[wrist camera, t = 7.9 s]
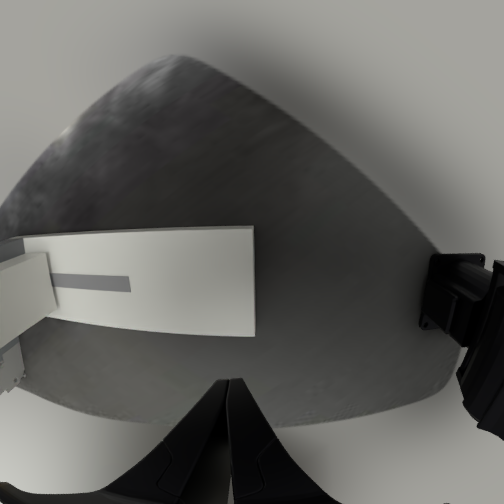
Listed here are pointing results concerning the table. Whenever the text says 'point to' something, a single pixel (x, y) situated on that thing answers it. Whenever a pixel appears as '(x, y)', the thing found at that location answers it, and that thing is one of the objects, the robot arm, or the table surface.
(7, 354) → the circuit breaker
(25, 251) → the long white slab
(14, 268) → the handle
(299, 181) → the table surface
